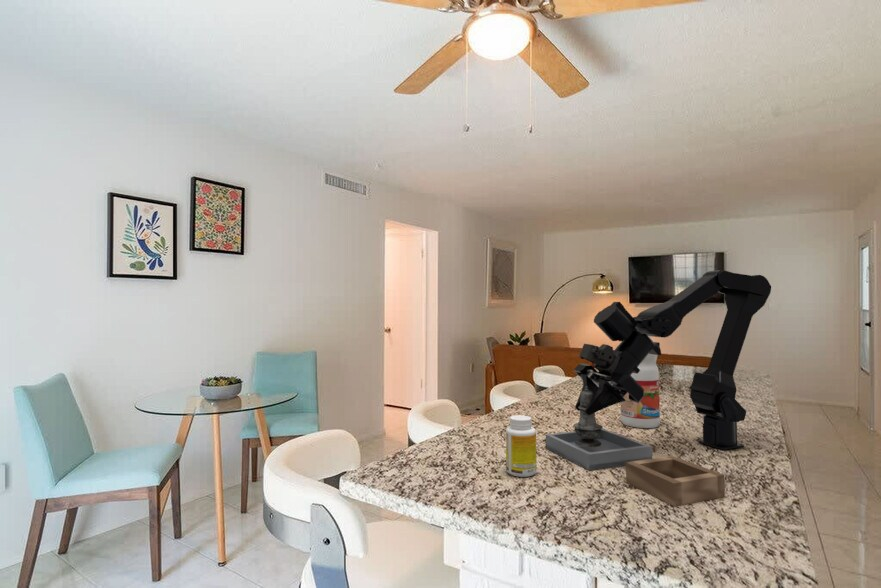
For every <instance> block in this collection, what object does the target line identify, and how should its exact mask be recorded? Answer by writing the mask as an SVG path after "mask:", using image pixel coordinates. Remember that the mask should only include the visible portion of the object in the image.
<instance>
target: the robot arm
mask: <svg viewBox="0 0 881 588" xmlns="http://www.w3.org/2000/svg"><path fill="white" fill-rule="evenodd" d="M771 291H772V285H771V283H770V282H769V280H768V278H766V277H765V276H764V275H761V274H754V275H751V274H750V275H749V274H742V273H737V272H736V273H735V272H731V271H728V270H725V269H720V270H719V269H717V270H710V271H709V270H708V271H706V272H705V273H704V274H703V275H702V276H701V277H700V278H698V279H697V280H695V281H694V282H692V283H691V284H690V285H689V286H687V287H686V288H684V289H683V290H681V291H680V292H679V293H678V294H676V295H675V296H673V297H672V298H670V299H668V300H667V301H665V302H663V303H660V304H657V305H653V306H651V307H649V308H647V309H644V310H642V311H641V312H639V313H638V314H637V315H636V316H632V314H630V312H629V311H628V310H627V309H626V308H625V307H624V305H623V304H622V302H621V301H613V302H612V303H611V304H610V305H607V306H606V307H605V308H603V309H602V310H600V311H598V313H597V314H596V315H595V316H594V319H593V323H594V324H595V326H597V327H598V329H599V330H600V331H602V333H604V334H605V335H606V337H608V338H609V340H610V341H611V342H620V343H619V344H618V345H617V346H616V347H615V349H614V347H613V346H611V345H609V344H605V343H603V344H600V346H599V345H594V344H591V343H590V344H589V343H583V346H582V348H581V350H580V353H579V356H578V358H580V359H582V360H585V361H588V362H590V363H592V365H591V364H586V363H578V364H577V365H576V367H575V368H574V369H573V372H574V373H576V375H578V377H579V378H581V380H582V388H581V391H582V390H584V389H586V388H585V387H586V385H587V386H588V389H589V390H590V391H592V392H593V393H594V397H593V398H592V400H591V401H590V403H589V404H588V406H587V408H586V409H585V413H586V414H587V415H590V414H593V413H595V414H596V413H597V412H599V411H601V410H604V409H606V408H608V407H612V406H614V405H616V404H620V403H621V402H624V401H626V400H625V399H624V398H623V397H624V396H625V395H626V394H627V393H629V399H630V400H631V401H633V402H637V403H639V402H640V401H641V400H642V398H643V397H644V389H643V388H642V387H641V386H640V385H639V384H638V383H637V382H636V380H635V379H634V378H633V377H632V376H631V374H632V373H636V374H638V373H639V371H640V369H639V368H638V366H639V365H640V363H641V362H642V361H643V360H644V359H645V357H646V356H647V355H648V354H654V355H658V356H661V355H662V351H661V350H662V349H661V346H660V345H661V344H660V342H657V341H653V340H652V338H651V337H653V338H654V337H655V338H663V339H664V338H668V337H669V336H672V335H673V334H674V333H675V331H677V329H678V328H679V327H680V326H681V325H682V322H683V319H684V318H685V317H686V316H687V315H688V314H690V313H691V312H692V311H693V310H695V309H696V308H698V307H699V306H700V305H702V304H703V303H705V302H706V301H708V300H709V299H710V298H711V297H713V296H714V295H716V294H717V293H719V294H722V295H723V294H724V296H723V299H724V303H725V305H726V309H727V310H726V313H725V316H724V318H723V323H722V326H721V329H720V331H719V335H718V338H717V340H716V343H715V346H714V349H713V352H712V355H711V358H710V362H709V364H708V367H707V369H706V370H704V372H695V373H694V374H693V378H692V383H691V385H690V386H689V387H688V389H689V390H690V393H689V398H690V399H691V401H692V403H693V405H694V407H695V411H696V413H697V414H701V415H704V416H702V417H703V422H702V439H698V440H697V443H699V444H700V443H701V444H703V445H706V446H710V447H713V448H716V449H719V450H724V451H725V450H731V449H739V448H744V447H745V445H744V444H743V443H740V442H738V423H740V422H741V421H742V422H744V421H745V419H746V415H747V410H746V409H745V408H744V407H743V406H742V405H741V404H740V403H739V402H738V401H737V400H736V396H737V386H736V382H735V378H734V373H735V370H736V367H737V364H738V362H739V359H740V355H741V351H742V349H743V346H744V342H745V340H746V337H747V334H748V330H749V328H750V325H751V321H752V318H753V316H755V315H756V313H757V312H758V311H760V310H761V309H762V308H763V307H764V306H765V304H766V302H767V301H768V299H769V297H770V294H771ZM648 336H650V338H651V339H650V338H649V337H648ZM579 406H580V395H579V396H578V399H577V401H576V404H575V406H574V407H575V410H576V411H578V412H580V409H579V408H578V407H579Z"/></svg>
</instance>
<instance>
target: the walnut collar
mask: <svg viewBox="0 0 881 588" xmlns="http://www.w3.org/2000/svg"><path fill="white" fill-rule="evenodd" d="M625 481H626V482H625V483H626V484H629V485H630V486H632V487H635V488H637V489H638V490H641V491H642V492H644V493H647V494H649V495H651V496H652V497H654V498H656V499H659V500H660V501H662V502H665V503H667V504H669V505H671V506H673V507H678V506H682V505H684V506H685V505H688V504H694V503H700V502H705V501H710V500H714V499H715V500H716V499H721V498H726V497H725V496H726V493H725V491H726V490H725V487H726V486H725V474H722V473H720V472H718V471H714V470H712V469H709V468H706V467H703V466H701V465H698V464H696V463H693V462H690V461H687V460H684V459H682V458H680V457H677V456H674V455H668V456H662V457H655V458H653V457H652V459H646V460H639V461H632V462H626V465H625Z"/></svg>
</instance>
